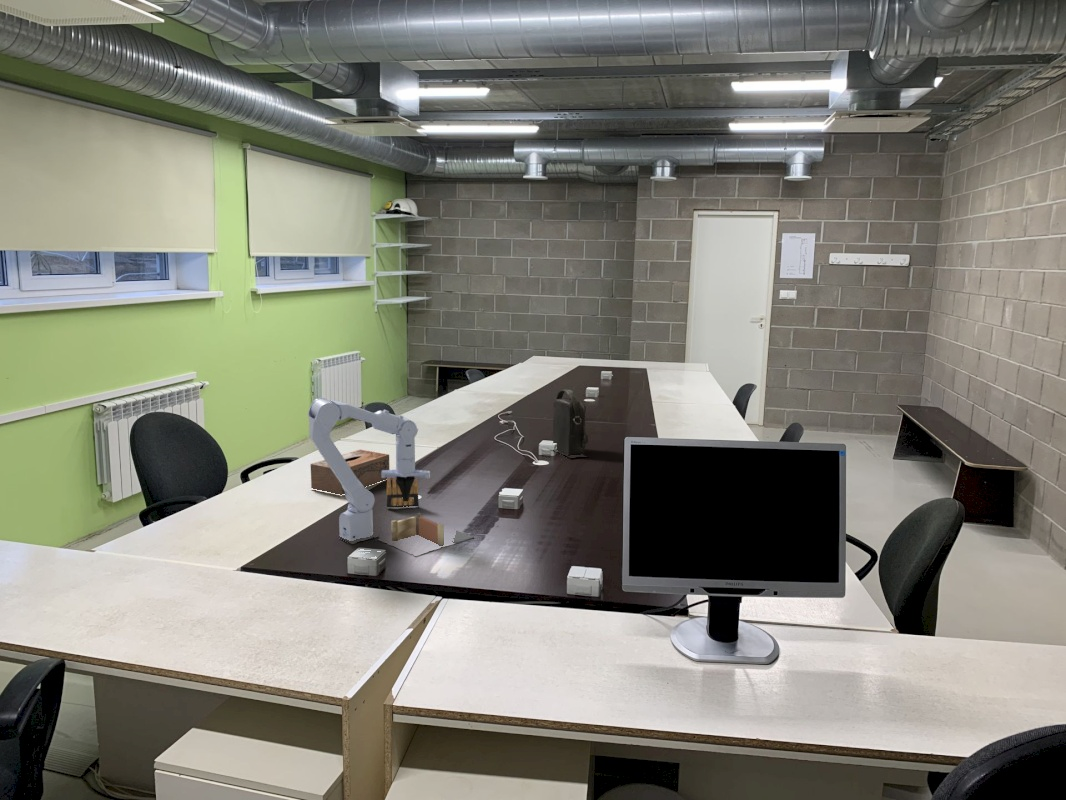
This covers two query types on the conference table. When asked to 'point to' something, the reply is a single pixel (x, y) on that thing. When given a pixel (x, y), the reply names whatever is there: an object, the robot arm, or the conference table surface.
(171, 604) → the conference table surface
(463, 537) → the card
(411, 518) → the fence base
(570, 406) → the shoulder bag
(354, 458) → the tissue box cover
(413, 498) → the ammunition clip
